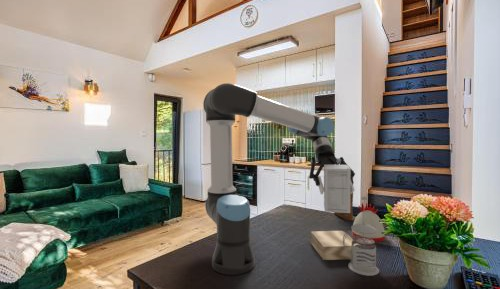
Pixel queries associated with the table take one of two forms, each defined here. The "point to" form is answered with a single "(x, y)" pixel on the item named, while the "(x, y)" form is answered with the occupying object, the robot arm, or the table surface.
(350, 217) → the pancake mix bag
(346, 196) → the supplement box
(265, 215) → the table surface
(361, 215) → the crested helmet
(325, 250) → the oak riser
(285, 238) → the table surface
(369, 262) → the french press
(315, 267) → the table surface
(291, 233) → the table surface
